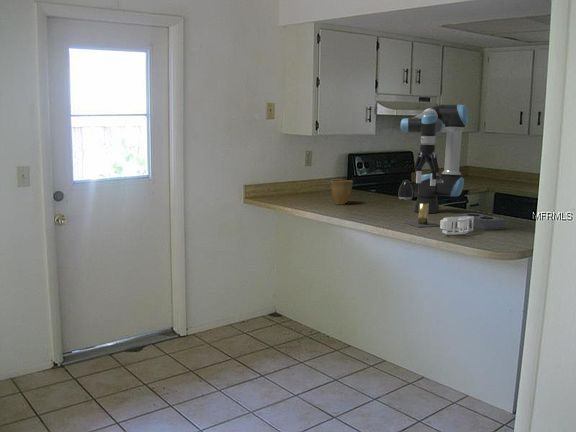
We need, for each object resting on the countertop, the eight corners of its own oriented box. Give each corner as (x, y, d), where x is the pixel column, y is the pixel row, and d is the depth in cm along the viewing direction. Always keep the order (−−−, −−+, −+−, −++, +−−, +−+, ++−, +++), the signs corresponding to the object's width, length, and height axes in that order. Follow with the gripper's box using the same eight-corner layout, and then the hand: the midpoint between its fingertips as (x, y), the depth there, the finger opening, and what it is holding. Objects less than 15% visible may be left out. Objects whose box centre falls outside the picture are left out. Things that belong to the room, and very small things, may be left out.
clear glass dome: (405, 202, 414) (406, 180, 411) (394, 201, 422) (395, 179, 420) (415, 201, 420) (417, 180, 417) (404, 200, 428) (405, 178, 426)
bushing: (416, 223, 324) (417, 202, 322) (424, 222, 326) (425, 202, 324) (421, 224, 319) (422, 204, 318) (429, 224, 321) (430, 203, 319)
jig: (455, 222, 332) (456, 213, 331) (475, 221, 337) (476, 212, 336) (483, 230, 310) (484, 220, 309) (504, 229, 314) (505, 219, 313)
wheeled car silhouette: (465, 229, 312) (466, 215, 311) (480, 232, 303) (481, 218, 301) (434, 231, 304) (435, 216, 303) (449, 235, 294) (449, 220, 293)
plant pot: (353, 206, 391) (354, 181, 389) (330, 205, 391) (331, 181, 389) (351, 203, 406) (352, 179, 403) (329, 202, 406) (329, 179, 404)
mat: (404, 223, 327) (404, 222, 327) (426, 222, 332) (426, 221, 331) (418, 227, 314) (418, 226, 314) (441, 226, 318) (441, 225, 318)
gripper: (408, 143, 326) (406, 182, 330) (435, 145, 303) (432, 186, 306) (420, 143, 329) (418, 182, 332) (447, 145, 306) (445, 186, 309)
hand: (425, 184), depth 319 cm, fingers open, 13 cm apart
